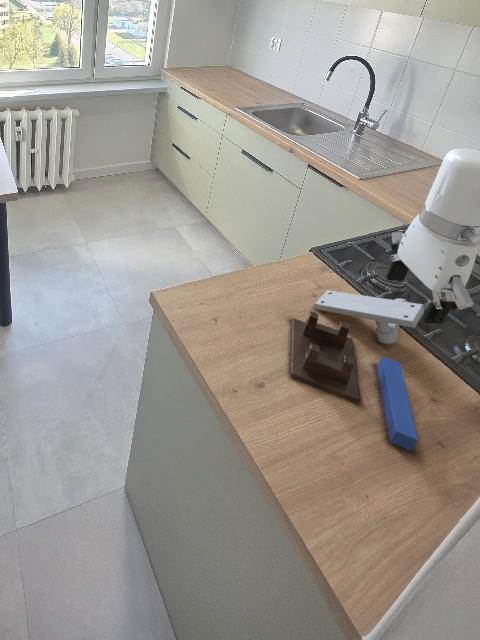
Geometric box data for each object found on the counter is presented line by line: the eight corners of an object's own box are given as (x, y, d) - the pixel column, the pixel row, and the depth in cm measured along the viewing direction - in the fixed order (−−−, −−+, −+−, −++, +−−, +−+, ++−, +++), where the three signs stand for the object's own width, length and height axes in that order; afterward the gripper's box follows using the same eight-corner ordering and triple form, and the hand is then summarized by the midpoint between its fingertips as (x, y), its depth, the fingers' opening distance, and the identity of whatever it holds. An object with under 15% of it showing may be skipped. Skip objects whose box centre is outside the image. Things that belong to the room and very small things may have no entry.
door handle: (324, 335, 100) (424, 359, 84) (314, 303, 100) (412, 321, 84) (353, 298, 111) (447, 313, 94) (344, 270, 110) (437, 280, 94)
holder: (350, 341, 92) (359, 320, 89) (358, 402, 80) (368, 379, 77) (292, 321, 97) (299, 300, 94) (290, 376, 84) (298, 353, 81)
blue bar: (394, 373, 86) (400, 362, 84) (411, 451, 72) (418, 440, 71) (376, 366, 87) (381, 356, 85) (390, 442, 73) (396, 431, 72)
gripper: (520, 259, 60) (472, 342, 67) (431, 193, 76) (400, 266, 83) (469, 257, 60) (426, 340, 67) (391, 192, 76) (363, 265, 83)
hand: (411, 299), depth 75 cm, fingers open, 9 cm apart
